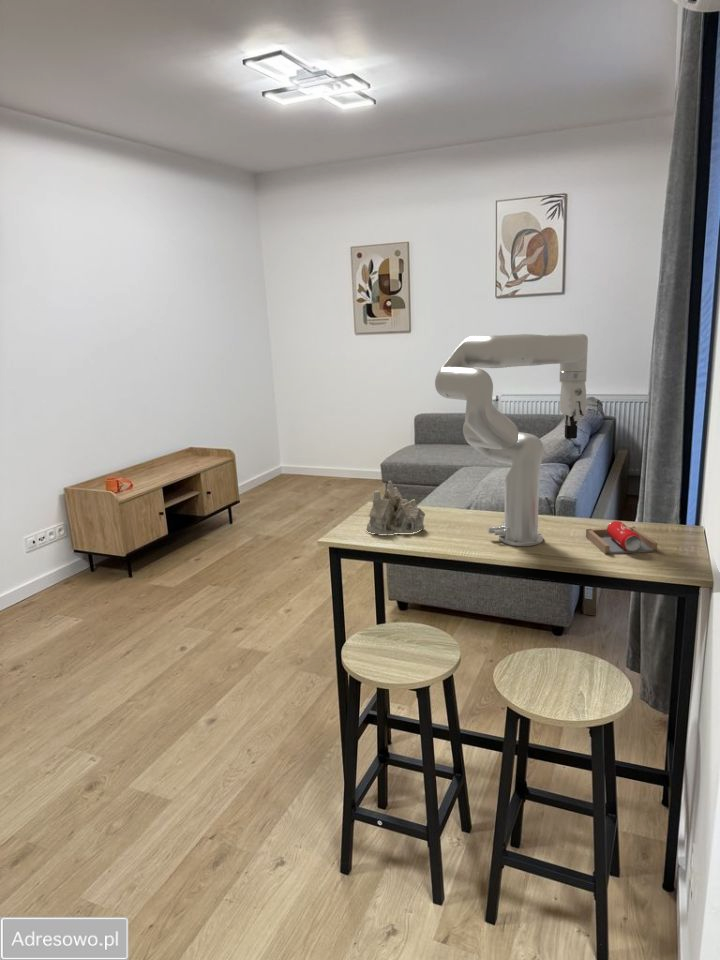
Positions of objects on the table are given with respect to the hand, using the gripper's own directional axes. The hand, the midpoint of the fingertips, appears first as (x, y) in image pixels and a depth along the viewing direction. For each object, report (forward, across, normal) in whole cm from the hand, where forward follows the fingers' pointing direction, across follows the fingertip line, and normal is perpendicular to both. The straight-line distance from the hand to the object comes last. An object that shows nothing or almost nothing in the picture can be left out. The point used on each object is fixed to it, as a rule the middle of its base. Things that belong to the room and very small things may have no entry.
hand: (570, 437), depth 195 cm
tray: (+27, -20, -8) cm, 35 cm away
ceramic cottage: (+28, +3, +54) cm, 60 cm away
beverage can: (+24, -28, -8) cm, 38 cm away
